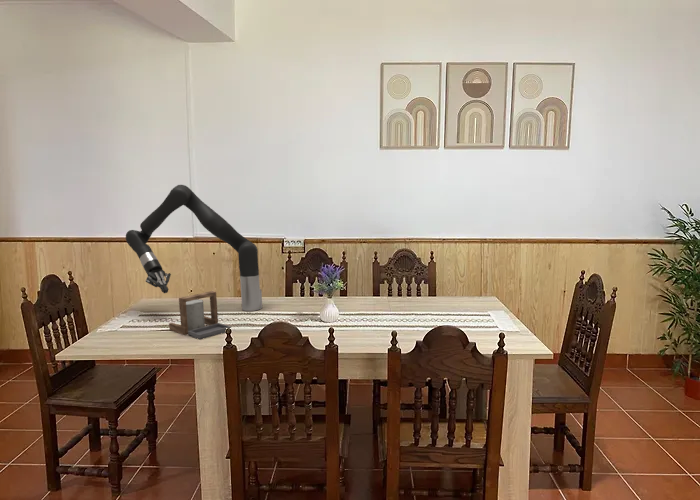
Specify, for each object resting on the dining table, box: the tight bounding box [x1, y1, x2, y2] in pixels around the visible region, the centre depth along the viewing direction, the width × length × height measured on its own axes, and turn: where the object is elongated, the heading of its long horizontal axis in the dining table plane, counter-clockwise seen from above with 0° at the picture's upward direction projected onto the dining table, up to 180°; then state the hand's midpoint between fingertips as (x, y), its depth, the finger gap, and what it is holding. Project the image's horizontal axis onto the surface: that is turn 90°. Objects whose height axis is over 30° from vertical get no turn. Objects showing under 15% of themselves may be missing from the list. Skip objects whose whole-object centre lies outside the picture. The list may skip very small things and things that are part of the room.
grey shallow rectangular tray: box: [187, 322, 232, 340], centre depth 273 cm, size 16×9×2 cm, turn 136°
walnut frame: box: [168, 290, 219, 336], centre depth 280 cm, size 17×13×16 cm
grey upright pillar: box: [186, 299, 206, 331], centre depth 280 cm, size 10×10×12 cm
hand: (166, 292), depth 294 cm, fingers closed
